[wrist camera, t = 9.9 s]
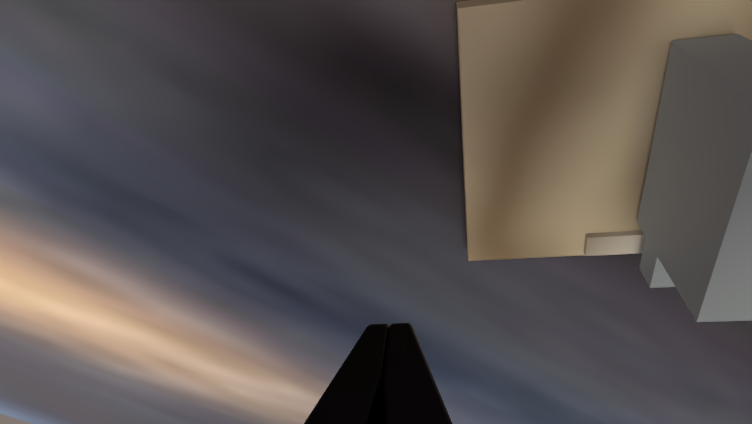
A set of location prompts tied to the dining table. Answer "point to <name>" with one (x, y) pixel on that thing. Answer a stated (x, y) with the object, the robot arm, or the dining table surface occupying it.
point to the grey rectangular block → (702, 180)
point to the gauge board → (567, 116)
